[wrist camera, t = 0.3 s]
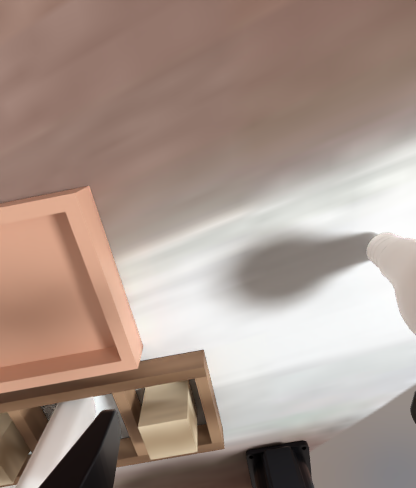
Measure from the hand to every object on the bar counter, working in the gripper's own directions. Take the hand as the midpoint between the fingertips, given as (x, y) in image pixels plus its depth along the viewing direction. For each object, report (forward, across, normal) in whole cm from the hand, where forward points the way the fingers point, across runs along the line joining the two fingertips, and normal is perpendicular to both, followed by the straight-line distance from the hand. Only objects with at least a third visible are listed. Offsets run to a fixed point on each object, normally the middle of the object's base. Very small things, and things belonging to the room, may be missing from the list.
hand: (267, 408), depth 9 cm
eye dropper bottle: (+14, +14, +16) cm, 26 cm away
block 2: (+14, +5, +15) cm, 22 cm away
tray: (+14, +17, +3) cm, 22 cm away
